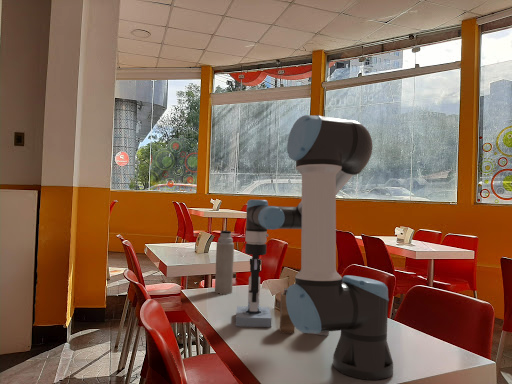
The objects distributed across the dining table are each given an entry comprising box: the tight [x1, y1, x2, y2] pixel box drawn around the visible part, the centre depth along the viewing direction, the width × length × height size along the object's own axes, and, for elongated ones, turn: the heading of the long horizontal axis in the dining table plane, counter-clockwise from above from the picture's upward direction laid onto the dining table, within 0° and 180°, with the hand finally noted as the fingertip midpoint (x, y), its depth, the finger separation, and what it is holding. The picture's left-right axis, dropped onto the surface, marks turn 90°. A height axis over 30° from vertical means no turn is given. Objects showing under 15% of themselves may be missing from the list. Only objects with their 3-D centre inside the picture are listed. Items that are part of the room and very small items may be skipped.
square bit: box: [279, 287, 296, 334], centre depth 132 cm, size 4×4×14 cm
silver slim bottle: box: [247, 272, 261, 314], centre depth 142 cm, size 4×4×16 cm
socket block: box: [235, 305, 272, 328], centre depth 142 cm, size 14×12×3 cm
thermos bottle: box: [214, 230, 235, 295], centre depth 184 cm, size 8×8×28 cm
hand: (253, 309), depth 142 cm, fingers closed on silver slim bottle, 4 cm apart
